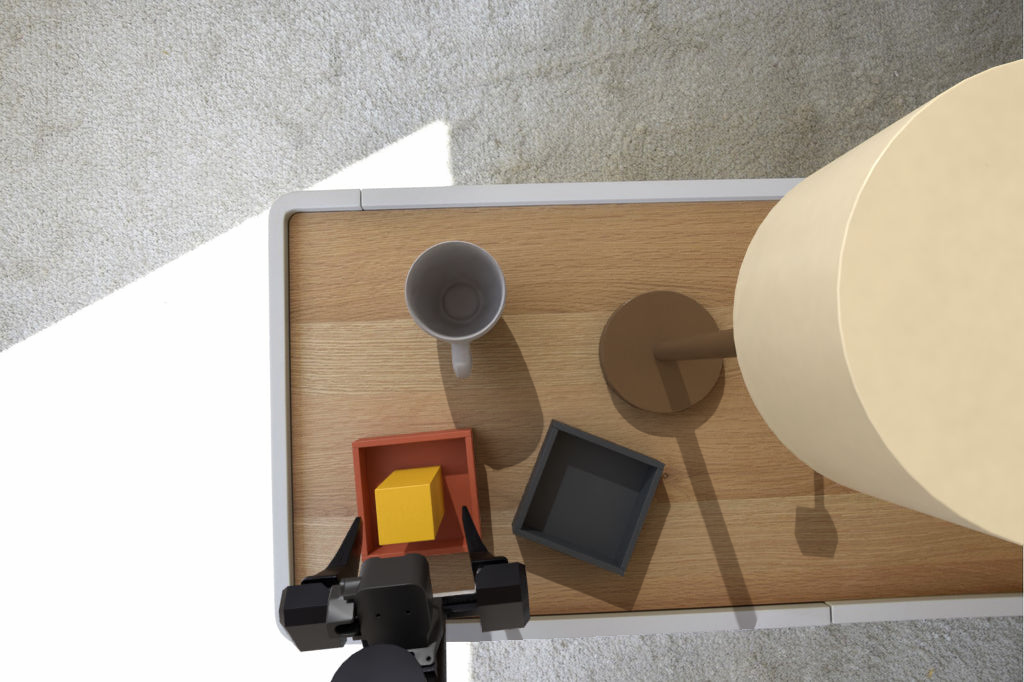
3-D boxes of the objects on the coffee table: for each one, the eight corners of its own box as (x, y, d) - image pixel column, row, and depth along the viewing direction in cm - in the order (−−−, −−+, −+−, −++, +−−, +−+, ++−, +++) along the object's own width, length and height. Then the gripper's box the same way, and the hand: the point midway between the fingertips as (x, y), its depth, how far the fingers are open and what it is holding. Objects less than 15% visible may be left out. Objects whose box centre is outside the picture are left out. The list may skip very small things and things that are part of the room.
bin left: (482, 540, 65) (482, 550, 61) (369, 552, 64) (361, 563, 61) (472, 427, 65) (470, 430, 62) (359, 438, 65) (351, 442, 61)
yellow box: (445, 511, 64) (434, 539, 53) (399, 515, 64) (379, 545, 53) (441, 464, 64) (429, 484, 53) (395, 469, 64) (374, 489, 53)
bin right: (616, 565, 65) (623, 576, 61) (511, 524, 65) (512, 533, 61) (656, 459, 66) (665, 464, 62) (552, 418, 65) (555, 421, 62)
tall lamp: (715, 432, 66) (1303, 596, 18) (578, 408, 66) (802, 509, 18) (736, 296, 67) (1359, 101, 19) (601, 272, 66) (877, 11, 18)
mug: (414, 261, 66) (400, 242, 56) (502, 255, 66) (503, 236, 56) (422, 381, 65) (409, 382, 56) (510, 374, 66) (513, 375, 56)
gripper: (535, 641, 41) (513, 444, 52) (233, 674, 40) (278, 468, 52) (539, 706, 48) (519, 522, 60) (284, 735, 48) (314, 543, 59)
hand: (412, 513), depth 57 cm, fingers open, 9 cm apart
